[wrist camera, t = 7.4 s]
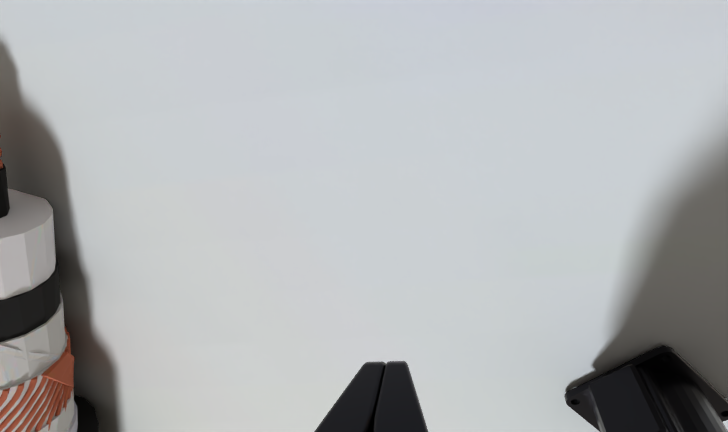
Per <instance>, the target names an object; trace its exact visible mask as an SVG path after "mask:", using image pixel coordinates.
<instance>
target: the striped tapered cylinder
mask: <svg viewBox="0 0 728 432" xmlns="http://www.w3.org/2000/svg"><path fill="white" fill-rule="evenodd" d="M0 137H1V135H0ZM1 155H2V150H1V148H0V157H1ZM74 359H75V358H74V356H73V355H71V349H70V335H69V332H67V329H66V327H65V326H64V309H63V298H62V293H61V291H60V285H59V267H58V261H57V257H56V255H55V238H54V221H53V208H52V207H51V205H50V204H49V203H48V201H47V200H46V199H44V198H41V197H37V196H34V195H30V194H27V193H23V192H20V191H17V190H13V189H10V188H8V187H7V177H6V168H5V166H4V164H3V163H2V160H1V159H0V432H99V423H98V420H97V416H96V412H95V409H94V407H93V406H92V405H91V404H90V403H88V402H87V401H86V400H85V399H84V398H83V397H80V396H77V395H74V394H73V388H74V381H73V374H74Z"/></svg>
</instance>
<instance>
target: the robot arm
mask: <svg viewBox="0 0 728 432" xmlns="http://www.w3.org/2000/svg"><path fill="white" fill-rule="evenodd" d="M665 355H666V356H665ZM565 400H566V404H567V405H568V406H569V407H571V408H572V409H573V410H574V411H575V412H577V413H578V414H579V415H580V416H582V417H583V418H584V419H585V420H586V421H588V422H589V423H590V424H591V425H593V426H594V427H595V428H596V429H597V430H599V431H600V432H728V431H727V429H726V427H725V426H724V424H723V421H726V420H728V401H727V400H726V399H725V398H724V397H723V396H722V395H721V394H720V393H719V392H718V391H717V390H716V389H715V388H714V387H712V386H711V385H710V384H709V383H708V382H707V381H706V380H705V379H704V378H703V377H702V376H701V375H700V374H699V373H698V372H696V371H695V370H694V369H693V368H692V367H691V366H690V365H689V364H688V363H687V362H686V361H685V360H684V359H683V358H682V357H680V356H679V355H678V354H677V353H676V352H675V351H674V350H673V349H672V348H670V347H667V346H661V347H658V348H656V349H654V350H652V351H650V352H648V353H646V354H644V355H642V356H640V357H638V358H635V359H633V360H631V361H629V362H627V363H625V364H623V365H621V366H619V367H617V368H615V369H613V370H611V371H609V372H607V373H605V374H603V375H601V376H599V377H597V378H595V379H593V380H591V381H589V382H587V383H585V384H583V385H581V386H579V387H577V388H574V389H572V390H570V391H568V392H567V393H566V394H565ZM315 432H428V430H427V426H426V423H425V420H424V416H423V413H422V410H421V407H420V403H419V400H418V397H417V394H416V390H415V387H414V384H413V381H412V377H411V374H410V371H409V367H408V365H407V363H406V362H405V361H390V362H387V364H386V363H384V362H367V363H365V364H364V365H363V366H362V367H361V369H360V370H359V371H358V373H357V374H356V375H355V377H354V378H353V380H352V381H351V382H350V384H349V385H348V386H347V388H346V389H345V391H344V392H343V393H342V395H341V396H340V397H339V399H338V400H337V402H336V403H335V404H334V406H333V407H332V408H331V410H330V411H329V412H328V414H327V415H326V417H325V418H324V419H323V421H322V422H321V423H320V425H319V426H318V428H317V429H316V430H315Z"/></svg>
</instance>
